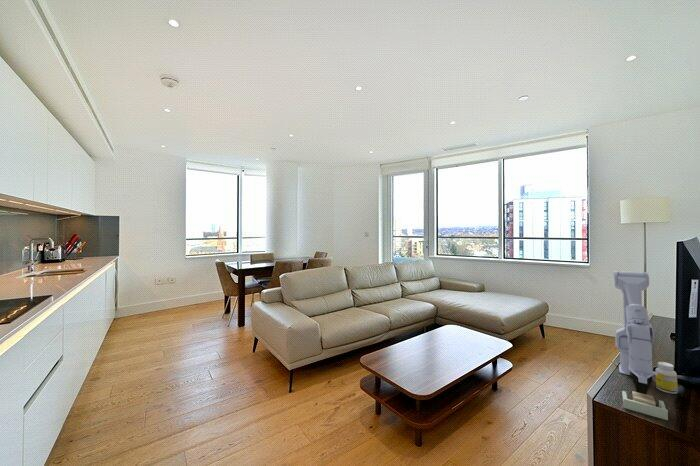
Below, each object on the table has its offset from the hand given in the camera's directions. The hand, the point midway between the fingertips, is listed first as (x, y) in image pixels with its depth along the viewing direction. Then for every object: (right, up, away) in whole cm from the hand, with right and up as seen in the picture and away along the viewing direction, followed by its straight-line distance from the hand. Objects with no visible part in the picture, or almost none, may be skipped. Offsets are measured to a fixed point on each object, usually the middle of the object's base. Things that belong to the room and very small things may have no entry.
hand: (641, 395), depth 99 cm
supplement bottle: (+15, -1, +5) cm, 16 cm away
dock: (-4, -1, -5) cm, 7 cm away
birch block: (-5, -2, -5) cm, 7 cm away
